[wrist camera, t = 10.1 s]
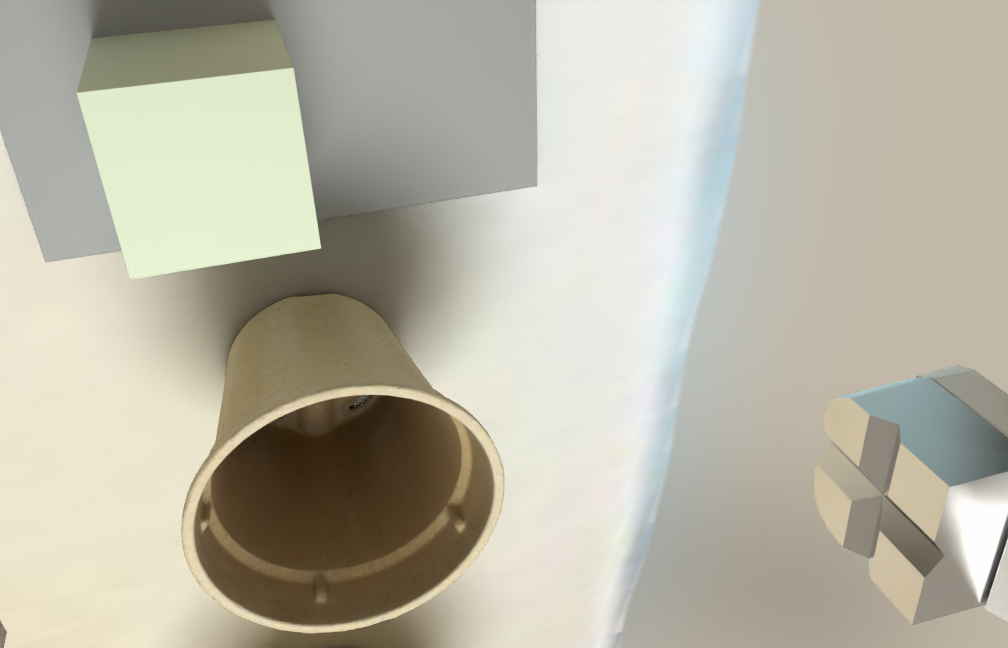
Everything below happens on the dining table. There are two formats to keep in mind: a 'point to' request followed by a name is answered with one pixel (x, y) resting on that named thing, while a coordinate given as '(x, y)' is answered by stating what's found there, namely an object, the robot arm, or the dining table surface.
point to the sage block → (199, 146)
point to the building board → (321, 93)
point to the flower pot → (335, 476)
